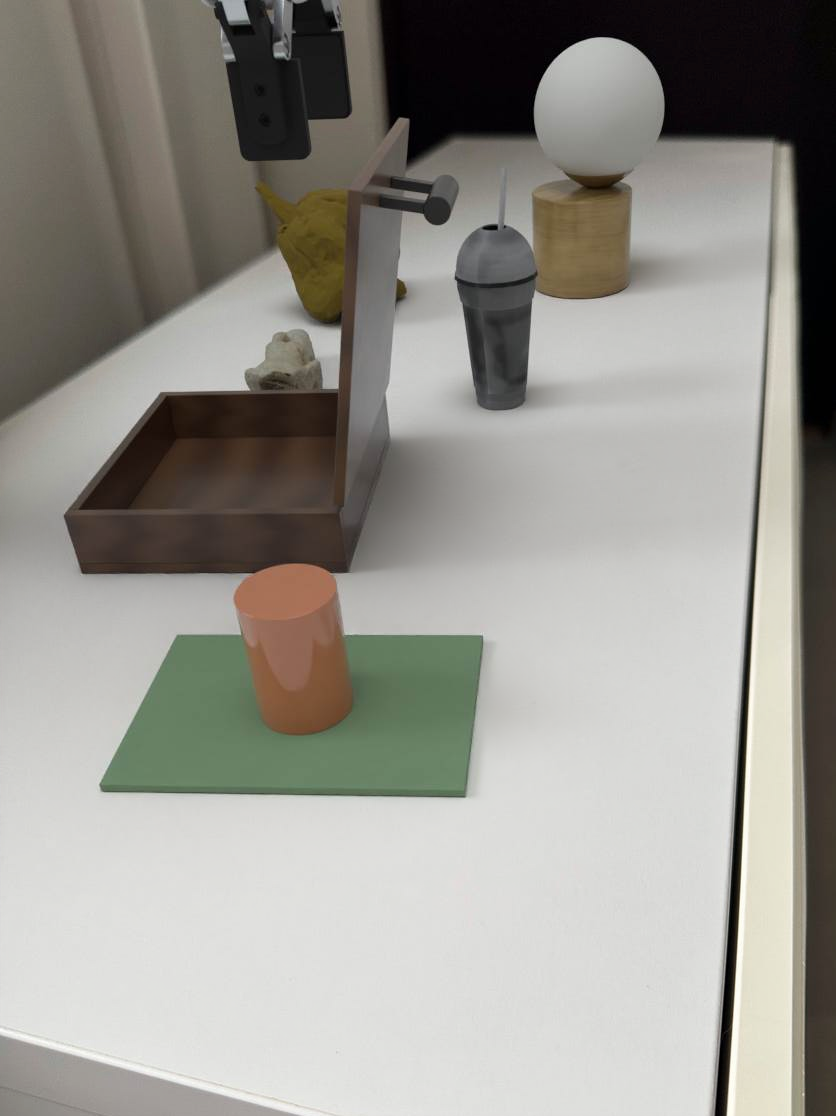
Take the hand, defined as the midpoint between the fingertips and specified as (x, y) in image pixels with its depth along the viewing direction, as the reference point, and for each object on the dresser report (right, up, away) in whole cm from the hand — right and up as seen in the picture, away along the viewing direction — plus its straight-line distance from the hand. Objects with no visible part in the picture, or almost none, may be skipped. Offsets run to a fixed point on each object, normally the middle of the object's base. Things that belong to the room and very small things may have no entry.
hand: (301, 137), depth 52 cm
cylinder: (-1, -29, +10) cm, 30 cm away
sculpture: (-10, 0, +51) cm, 52 cm away
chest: (-9, -14, +32) cm, 36 cm away
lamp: (+22, +18, +73) cm, 78 cm away
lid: (+1, -1, +22) cm, 22 cm away
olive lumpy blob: (-7, +13, +69) cm, 71 cm away
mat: (-1, -29, +10) cm, 31 cm away
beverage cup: (+11, -3, +46) cm, 47 cm away
